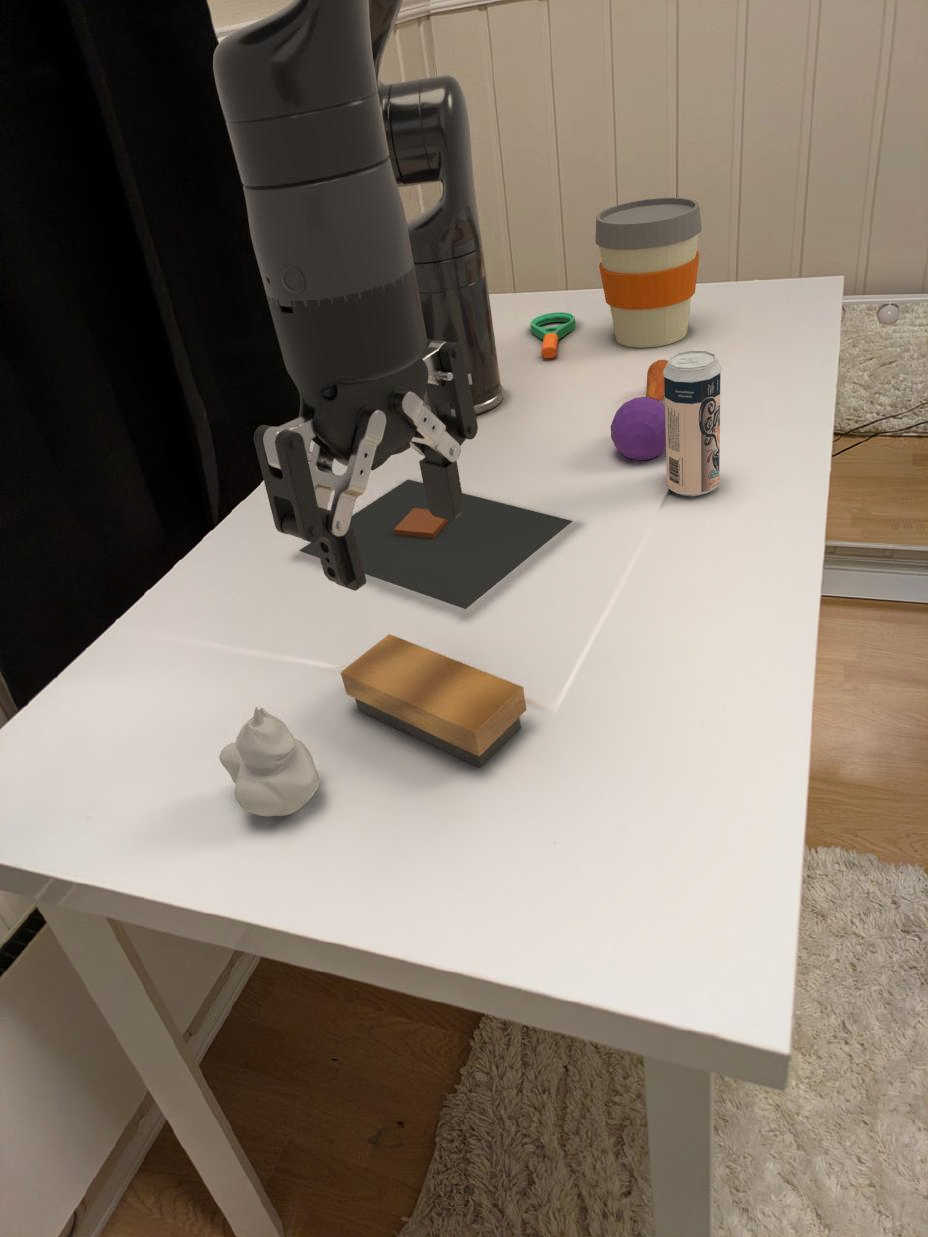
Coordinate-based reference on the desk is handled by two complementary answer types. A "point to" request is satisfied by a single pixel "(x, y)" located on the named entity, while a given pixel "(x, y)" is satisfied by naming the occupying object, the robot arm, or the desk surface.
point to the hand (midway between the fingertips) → (400, 548)
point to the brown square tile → (420, 524)
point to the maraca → (643, 420)
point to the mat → (447, 544)
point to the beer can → (692, 422)
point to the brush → (436, 698)
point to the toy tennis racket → (552, 330)
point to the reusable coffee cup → (649, 268)
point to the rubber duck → (270, 767)
